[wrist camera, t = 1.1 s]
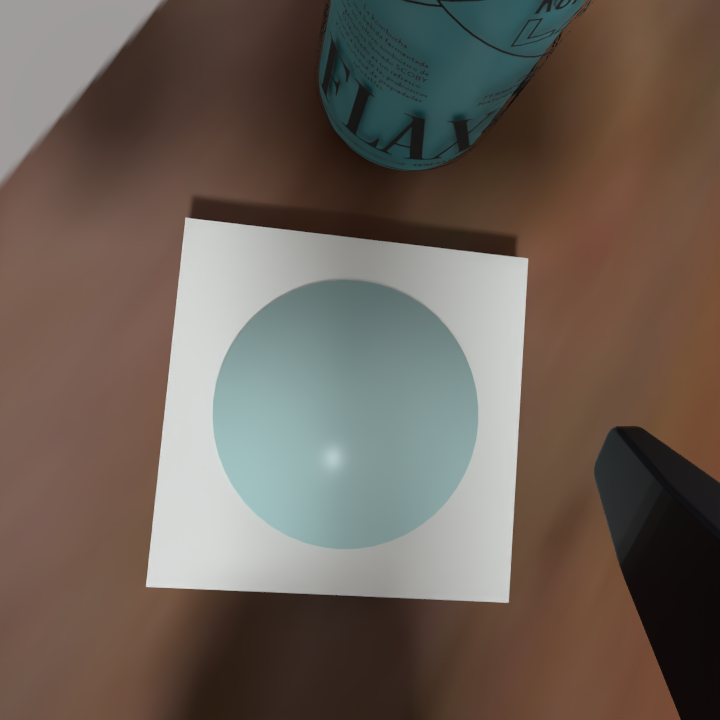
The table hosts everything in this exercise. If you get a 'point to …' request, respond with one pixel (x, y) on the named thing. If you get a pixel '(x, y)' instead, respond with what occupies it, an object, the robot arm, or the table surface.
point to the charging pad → (339, 417)
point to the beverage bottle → (429, 71)
